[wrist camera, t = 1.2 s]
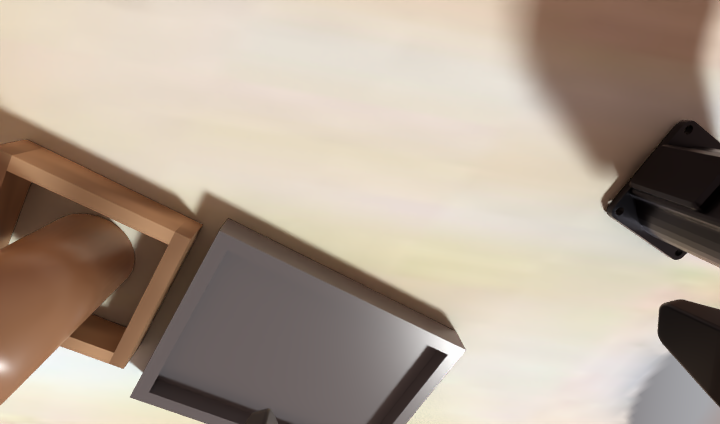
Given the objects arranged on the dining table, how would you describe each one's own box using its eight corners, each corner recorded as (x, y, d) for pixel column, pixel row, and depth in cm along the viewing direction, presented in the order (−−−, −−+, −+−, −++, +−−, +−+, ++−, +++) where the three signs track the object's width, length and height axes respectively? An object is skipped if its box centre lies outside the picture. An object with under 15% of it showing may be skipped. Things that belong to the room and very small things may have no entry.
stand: (202, 224, 20) (190, 239, 18) (140, 344, 22) (123, 368, 20) (26, 139, 18) (-9, 146, 16) (-25, 282, 20) (-61, 302, 18)
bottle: (147, 238, 20) (-54, 418, 9) (117, 302, 21) (-95, 528, 11) (59, 198, 19) (-285, 350, 8) (31, 267, 20) (-305, 482, 9)
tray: (456, 331, 24) (466, 350, 23) (360, 452, 27) (362, 477, 25) (228, 218, 20) (219, 230, 19) (143, 374, 23) (129, 397, 21)
